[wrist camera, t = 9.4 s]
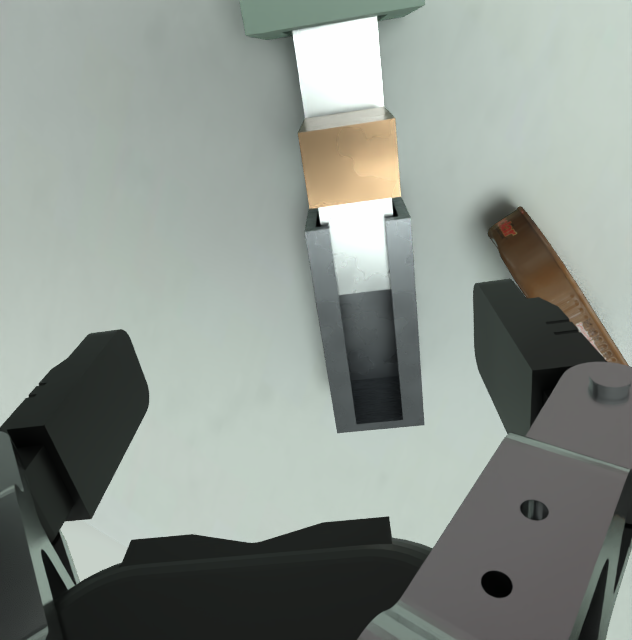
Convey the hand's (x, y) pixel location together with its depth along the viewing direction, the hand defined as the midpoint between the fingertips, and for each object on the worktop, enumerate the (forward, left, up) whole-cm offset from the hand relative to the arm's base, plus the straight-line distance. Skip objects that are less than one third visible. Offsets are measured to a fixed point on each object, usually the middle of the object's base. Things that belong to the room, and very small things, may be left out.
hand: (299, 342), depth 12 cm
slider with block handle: (+2, +1, -23) cm, 23 cm away
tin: (+14, -11, -24) cm, 30 cm away
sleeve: (+2, -10, -24) cm, 26 cm away
